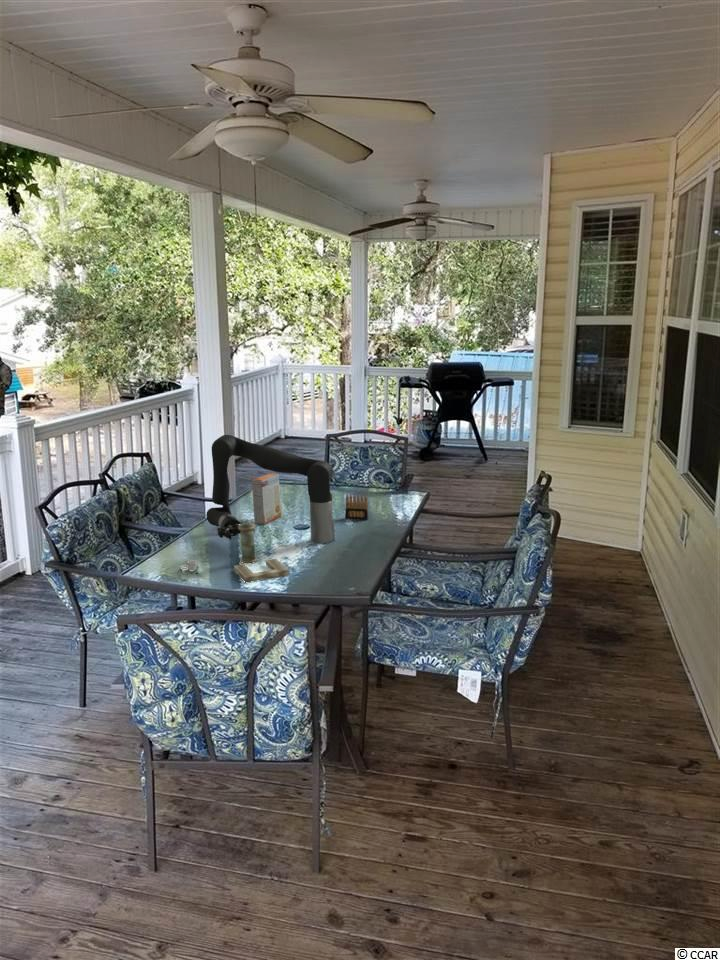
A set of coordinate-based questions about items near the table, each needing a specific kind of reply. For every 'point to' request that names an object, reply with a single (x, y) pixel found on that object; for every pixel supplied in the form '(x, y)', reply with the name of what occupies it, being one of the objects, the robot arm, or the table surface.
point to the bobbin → (247, 543)
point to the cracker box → (266, 498)
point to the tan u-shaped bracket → (272, 564)
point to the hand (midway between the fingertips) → (241, 535)
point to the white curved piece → (190, 565)
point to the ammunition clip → (354, 512)
